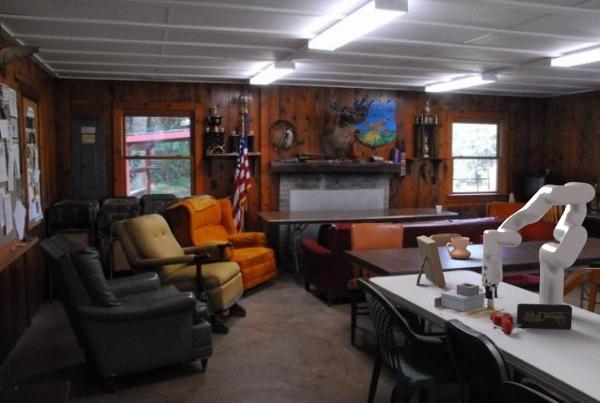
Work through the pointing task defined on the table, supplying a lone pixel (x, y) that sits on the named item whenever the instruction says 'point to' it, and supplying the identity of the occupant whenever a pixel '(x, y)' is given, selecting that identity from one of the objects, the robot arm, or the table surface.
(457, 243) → the ceramic jug
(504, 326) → the red block assembly
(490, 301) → the handle peg
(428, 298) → the table surface
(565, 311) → the nameplate
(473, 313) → the bay
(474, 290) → the square socket plate
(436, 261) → the photo frame
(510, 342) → the table surface
